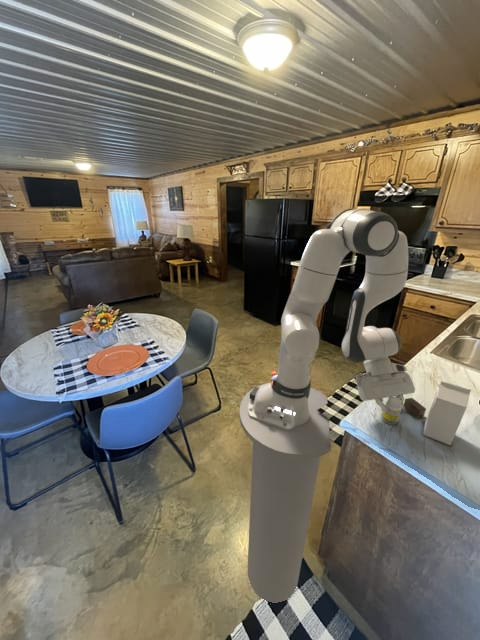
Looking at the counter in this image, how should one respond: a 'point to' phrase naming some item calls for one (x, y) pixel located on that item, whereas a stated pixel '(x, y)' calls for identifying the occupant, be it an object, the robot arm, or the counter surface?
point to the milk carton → (446, 412)
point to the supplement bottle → (392, 410)
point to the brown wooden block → (414, 408)
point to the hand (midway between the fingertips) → (393, 410)
